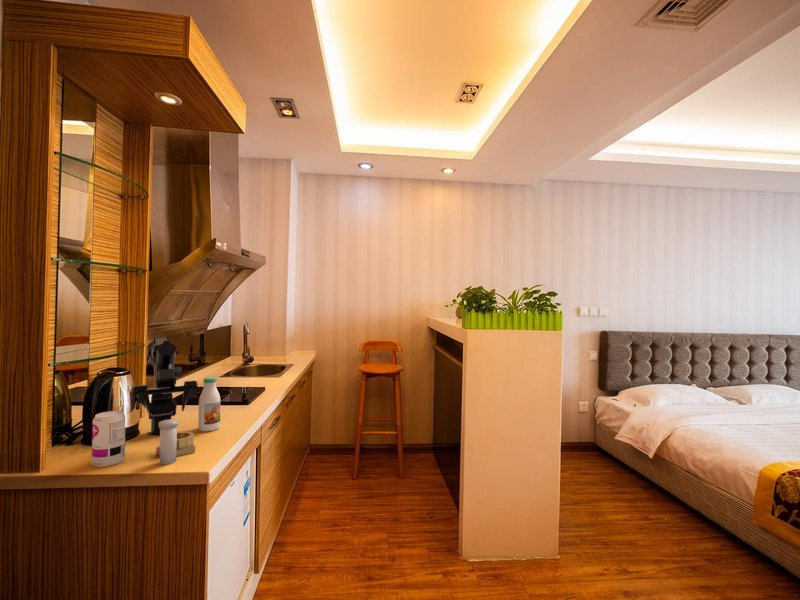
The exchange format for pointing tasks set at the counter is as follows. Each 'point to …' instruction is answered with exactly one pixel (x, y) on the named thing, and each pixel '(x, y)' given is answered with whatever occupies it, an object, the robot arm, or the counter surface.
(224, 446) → the counter surface
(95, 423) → the supplement can
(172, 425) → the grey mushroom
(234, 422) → the counter surface
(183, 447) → the valve body
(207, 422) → the milk bottle
